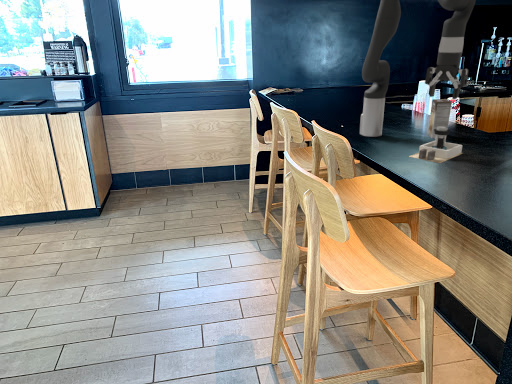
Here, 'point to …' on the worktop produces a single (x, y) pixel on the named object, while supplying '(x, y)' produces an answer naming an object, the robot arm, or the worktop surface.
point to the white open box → (440, 153)
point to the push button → (441, 137)
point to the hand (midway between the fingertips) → (442, 97)
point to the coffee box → (439, 115)
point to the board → (430, 156)
